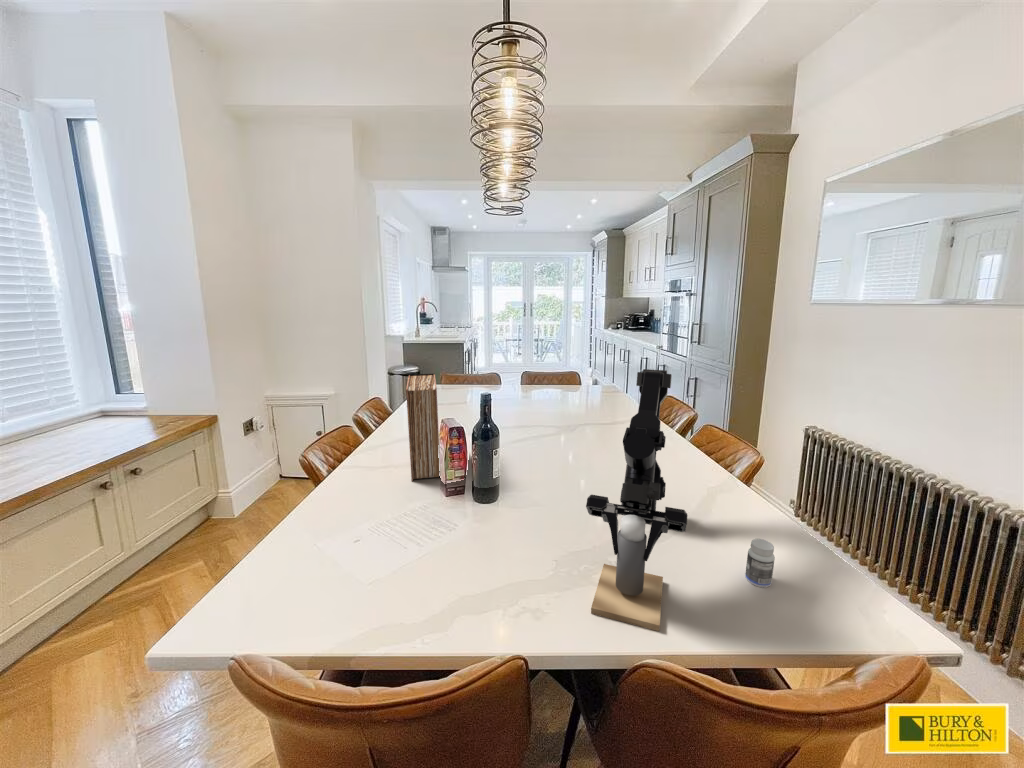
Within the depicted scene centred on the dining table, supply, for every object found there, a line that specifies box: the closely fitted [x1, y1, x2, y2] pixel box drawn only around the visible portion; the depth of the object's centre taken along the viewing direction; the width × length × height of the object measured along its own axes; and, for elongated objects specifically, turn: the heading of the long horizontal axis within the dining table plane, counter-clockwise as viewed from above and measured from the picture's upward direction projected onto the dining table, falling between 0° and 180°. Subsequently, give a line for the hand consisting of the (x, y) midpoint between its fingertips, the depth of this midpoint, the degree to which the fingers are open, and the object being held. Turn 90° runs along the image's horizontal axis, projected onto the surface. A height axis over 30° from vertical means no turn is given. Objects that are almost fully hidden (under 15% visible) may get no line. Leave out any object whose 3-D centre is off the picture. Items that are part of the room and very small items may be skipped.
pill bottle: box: [744, 538, 776, 588], centre depth 87 cm, size 5×5×8 cm
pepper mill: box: [616, 515, 648, 596], centre depth 81 cm, size 5×5×14 cm
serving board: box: [590, 563, 664, 632], centre depth 83 cm, size 14×12×1 cm
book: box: [405, 373, 440, 482], centre depth 145 cm, size 25×9×30 cm, turn 11°
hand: (630, 557), depth 80 cm, fingers closed on pepper mill, 5 cm apart
